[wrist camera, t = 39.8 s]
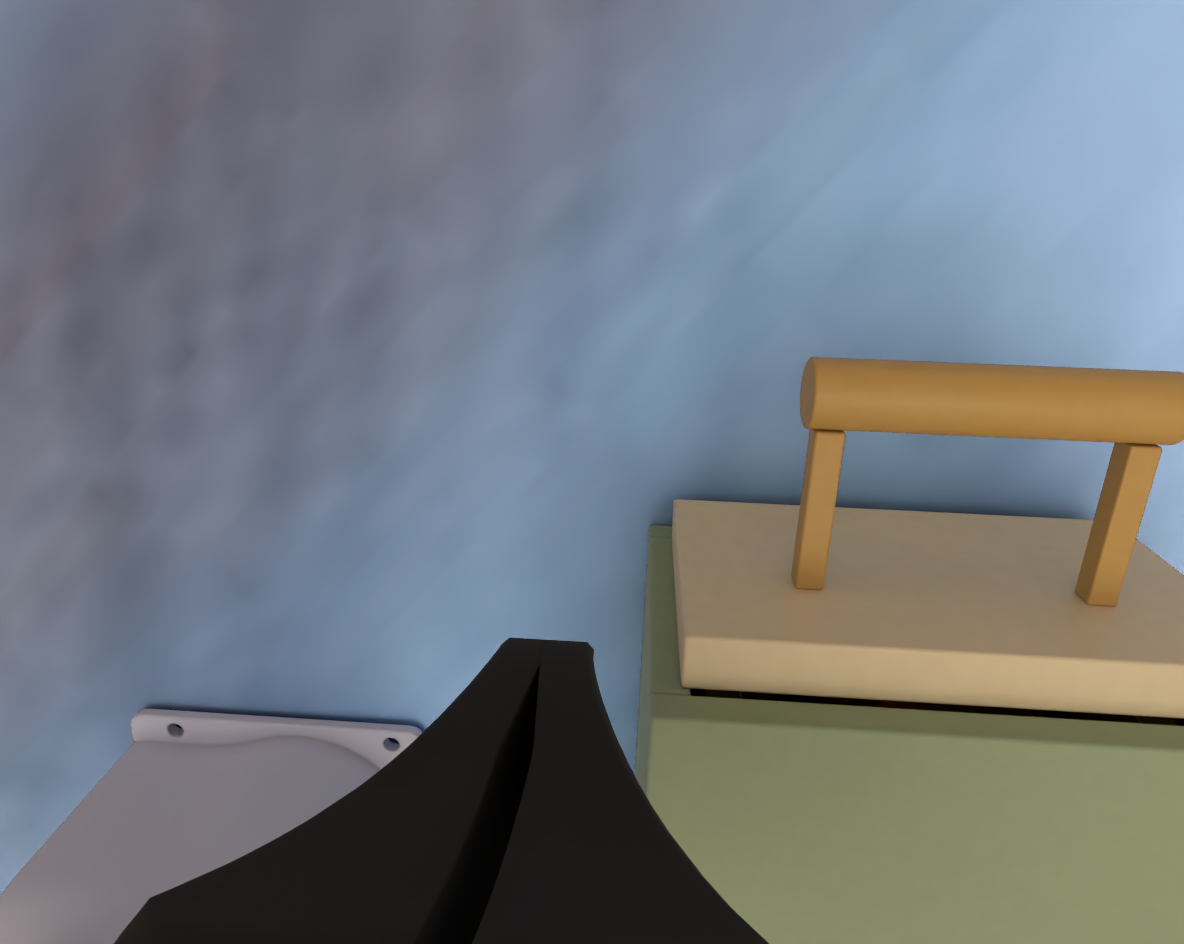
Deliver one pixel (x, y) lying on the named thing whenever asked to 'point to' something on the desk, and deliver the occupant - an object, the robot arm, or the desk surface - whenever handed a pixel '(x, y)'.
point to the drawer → (945, 559)
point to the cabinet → (910, 812)
